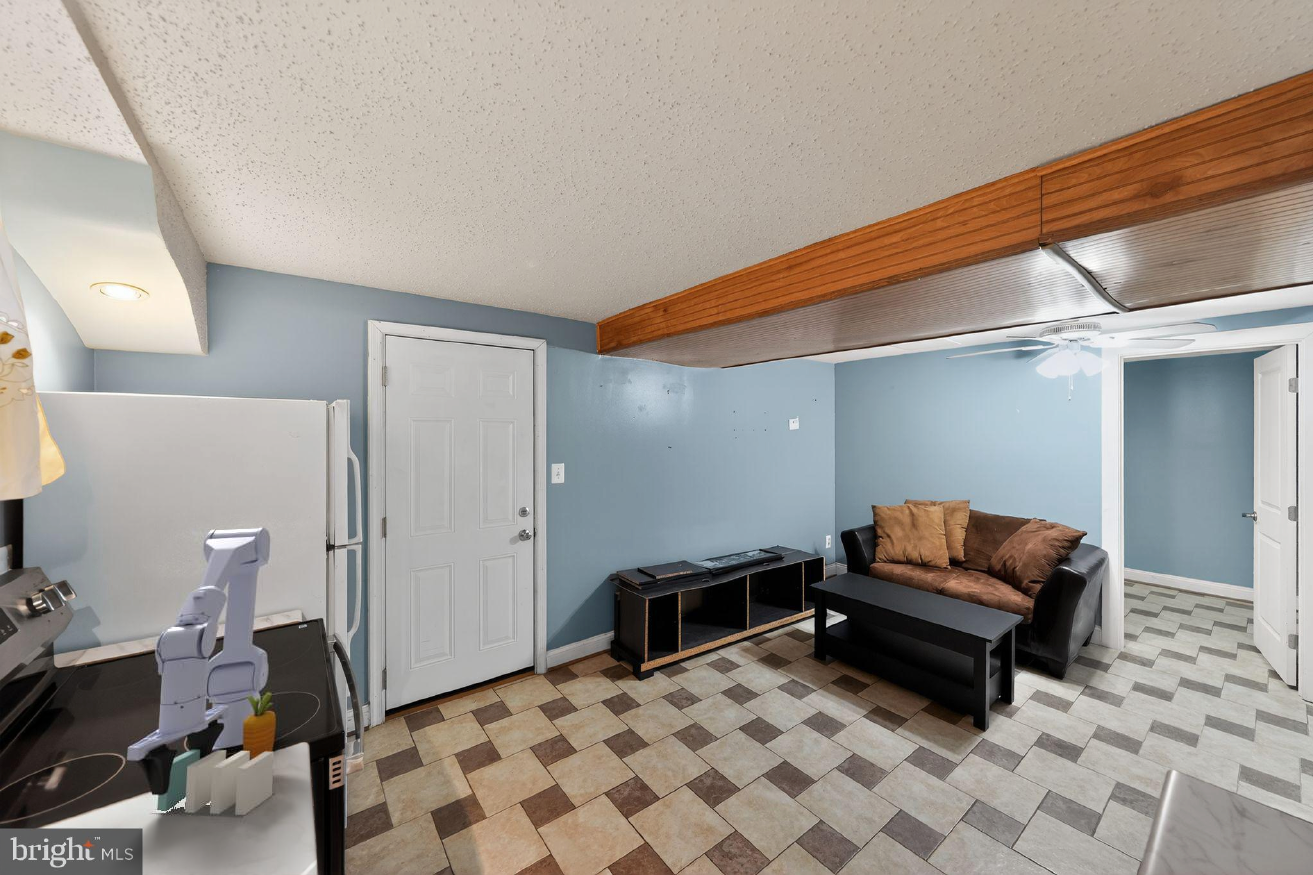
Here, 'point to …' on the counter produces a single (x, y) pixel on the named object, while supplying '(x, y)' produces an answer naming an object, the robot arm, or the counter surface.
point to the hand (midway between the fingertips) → (179, 782)
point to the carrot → (259, 728)
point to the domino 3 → (254, 782)
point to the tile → (177, 780)
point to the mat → (206, 811)
